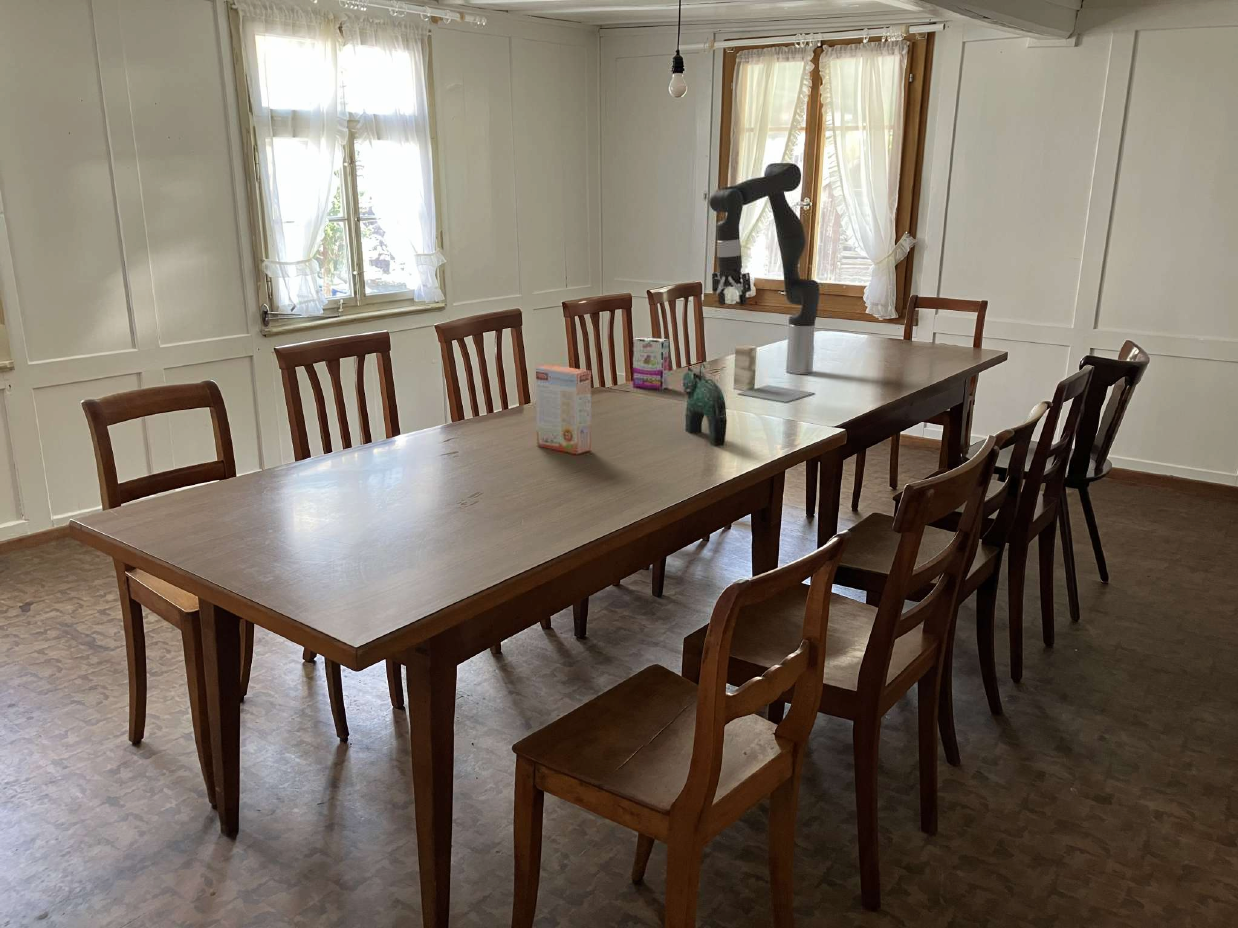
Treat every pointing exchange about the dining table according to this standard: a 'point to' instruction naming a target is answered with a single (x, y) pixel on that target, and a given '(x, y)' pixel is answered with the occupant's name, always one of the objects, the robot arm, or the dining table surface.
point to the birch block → (745, 367)
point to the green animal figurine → (704, 405)
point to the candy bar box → (650, 363)
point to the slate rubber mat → (776, 393)
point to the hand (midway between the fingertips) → (732, 305)
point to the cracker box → (563, 408)
